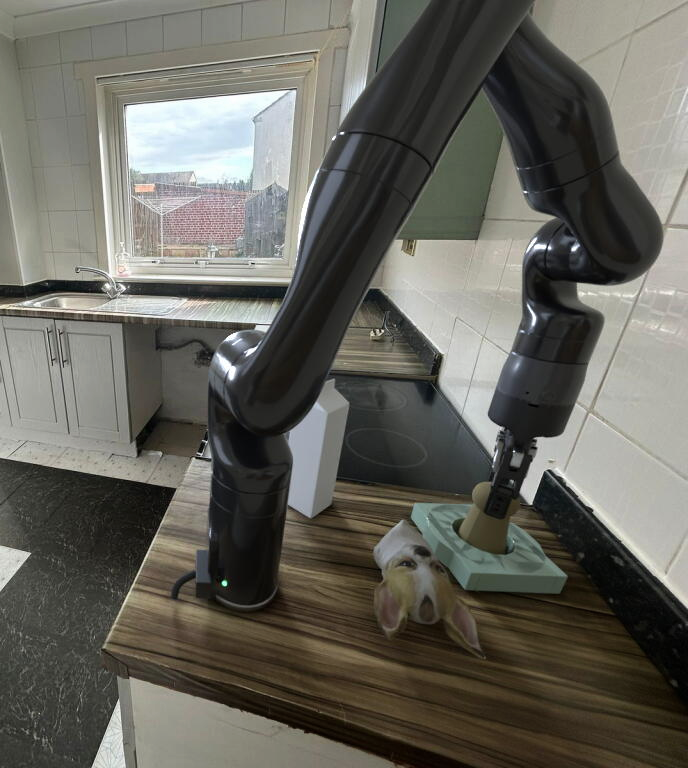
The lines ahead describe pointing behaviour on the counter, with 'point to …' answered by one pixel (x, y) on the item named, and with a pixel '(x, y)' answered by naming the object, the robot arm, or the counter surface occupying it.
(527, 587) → the plate
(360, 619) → the counter surface
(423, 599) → the dog head figure
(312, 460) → the milk
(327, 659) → the counter surface
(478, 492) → the cork
